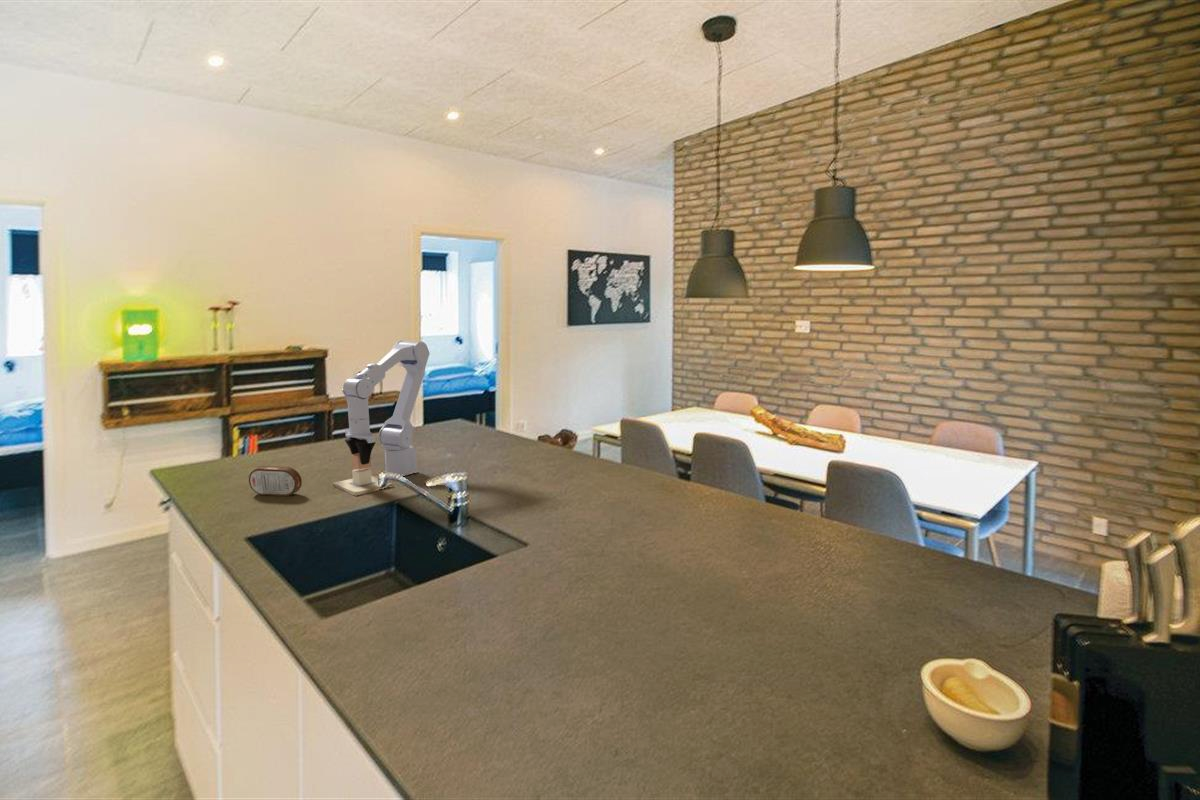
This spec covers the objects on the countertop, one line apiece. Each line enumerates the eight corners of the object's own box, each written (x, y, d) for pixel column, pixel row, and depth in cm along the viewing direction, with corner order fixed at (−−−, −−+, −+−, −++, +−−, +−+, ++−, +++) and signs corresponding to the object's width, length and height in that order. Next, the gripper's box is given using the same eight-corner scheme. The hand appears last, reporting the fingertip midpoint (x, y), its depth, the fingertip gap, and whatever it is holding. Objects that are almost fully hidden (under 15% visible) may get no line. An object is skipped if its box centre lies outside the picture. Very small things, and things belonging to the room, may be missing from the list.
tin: (303, 494, 181) (301, 466, 179) (297, 497, 178) (295, 469, 176) (255, 492, 182) (252, 464, 181) (248, 495, 179) (245, 467, 178)
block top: (364, 464, 190) (363, 452, 189) (371, 467, 187) (370, 454, 187) (352, 467, 187) (351, 454, 186) (358, 469, 184) (357, 456, 184)
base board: (369, 477, 197) (369, 474, 197) (392, 486, 188) (392, 483, 188) (332, 486, 188) (332, 482, 188) (355, 495, 179) (355, 492, 179)
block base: (365, 480, 191) (364, 467, 190) (371, 482, 188) (371, 470, 187) (352, 483, 188) (352, 470, 187) (359, 485, 185) (358, 472, 184)
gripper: (334, 417, 187) (337, 460, 189) (358, 423, 177) (360, 469, 179) (356, 413, 192) (359, 456, 194) (380, 420, 182) (383, 464, 184)
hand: (361, 462), depth 187 cm, fingers closed on block top, 4 cm apart
